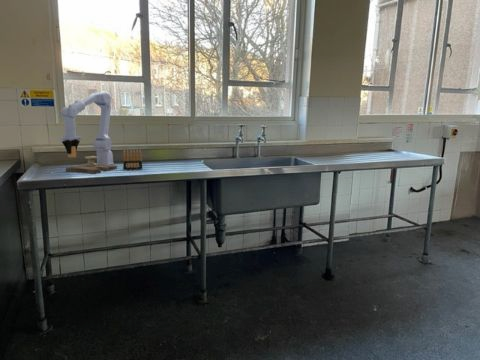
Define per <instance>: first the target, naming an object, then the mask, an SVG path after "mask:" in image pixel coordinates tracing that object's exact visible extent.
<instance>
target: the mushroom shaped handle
mask: <svg viewBox="0 0 480 360" xmlns="http://www.w3.org/2000/svg"><path fill="white" fill-rule="evenodd" d="M84 158H85V159H87V163H88V164H87V163H85V164H86V166H96V165H97V162H95V159H97V155H96V156H95V155H88V156H87V155H86V156H84Z"/></svg>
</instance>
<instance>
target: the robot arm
mask: <svg viewBox="0 0 480 360" xmlns="http://www.w3.org/2000/svg"><path fill="white" fill-rule="evenodd" d="M93 103H94V104H95V105H97V106H98V107H99V108H100V116H99V117H100V118H99V128H98V134H97V135H95V137H94V141H93V144H92V146H93V148H94V149H95V151H96V164H105V165H115V162H114V154H113V151H111V149H112V145H113V144H112V138H111V137H110V136H109V129H110V119H111V110H112V105H111V103H112V97H111V95H110V93H108V92H93V93H90V95H89V96H88V95H87V97H85V98H84V99H82V100H75V101H74V103H72V104H68V106H65V107H63V108H62V109H61V111H60V115H61V117H62V119H63V128H64V136H63V137H62V136H61V137H58V142H61V143H62V144H63V146H64V148H65V150H66V153H67V155H68V154H71V147H72V146H76V151H77V150H78V146H79V144H80V142H81V141H82V140H83V138H82V136H81V135H77V130H76V126H77V125H76V117H77V116H78V114H79V113H81V112H84V111H85V109H86V107H87V106H89V105H91V104H93Z"/></svg>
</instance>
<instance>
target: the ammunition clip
mask: <svg viewBox="0 0 480 360" xmlns="http://www.w3.org/2000/svg"><path fill="white" fill-rule="evenodd" d="M122 152H123V154H122V155H123V156H122V163H123V165H122V167H123V168H122V170H123V171H127V170H128V171H129V170H143V155H142V150H141V148H140V149H139V150H138V148H136V150H135V148H133V149H128V148H127V149H126V150H125V148H124V149H123V151H122Z"/></svg>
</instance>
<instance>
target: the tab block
mask: <svg viewBox="0 0 480 360" xmlns="http://www.w3.org/2000/svg"><path fill="white" fill-rule="evenodd" d="M67 157H68V158H76V157H77V150H76V146H72V147H71V154H67Z"/></svg>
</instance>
